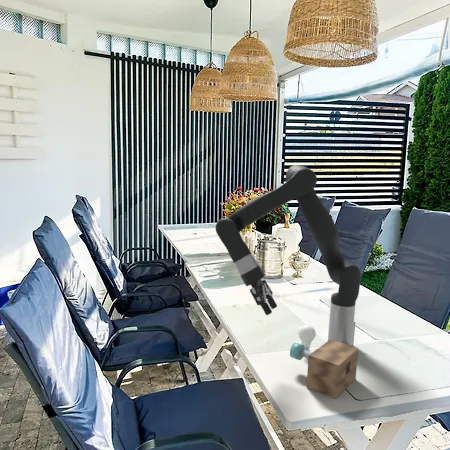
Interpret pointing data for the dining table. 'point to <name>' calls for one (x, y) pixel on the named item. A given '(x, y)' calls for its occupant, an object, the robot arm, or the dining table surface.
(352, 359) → the mount
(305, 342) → the lightbulb
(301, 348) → the knob
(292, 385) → the dining table surface
